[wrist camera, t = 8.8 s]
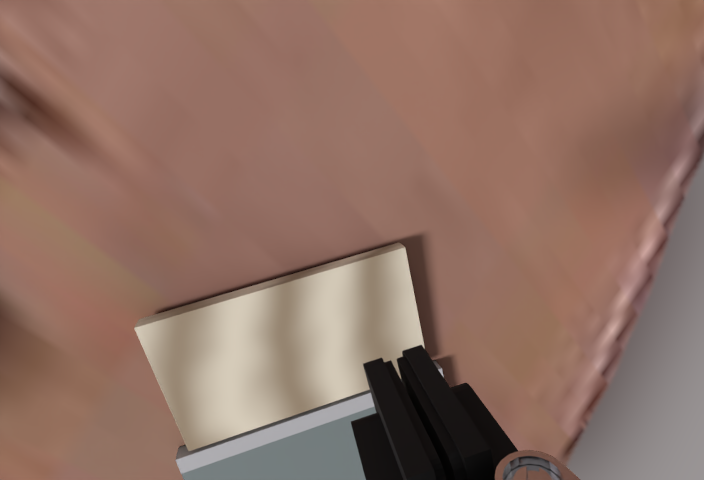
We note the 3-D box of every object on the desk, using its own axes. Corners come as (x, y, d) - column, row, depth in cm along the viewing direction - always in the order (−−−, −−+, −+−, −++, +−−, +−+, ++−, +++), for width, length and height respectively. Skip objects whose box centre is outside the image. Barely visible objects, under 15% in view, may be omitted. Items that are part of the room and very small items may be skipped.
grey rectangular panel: (435, 359, 35) (441, 368, 34) (458, 471, 38) (465, 483, 36) (178, 447, 32) (175, 459, 31) (225, 561, 35) (224, 577, 34)
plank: (399, 242, 31) (405, 247, 30) (423, 360, 35) (428, 369, 33) (138, 319, 29) (134, 328, 28) (190, 439, 32) (188, 451, 31)
